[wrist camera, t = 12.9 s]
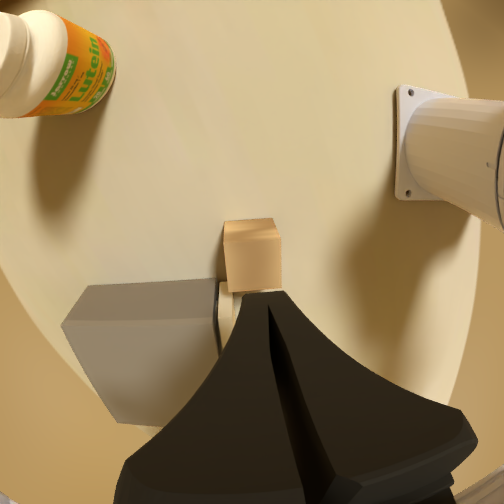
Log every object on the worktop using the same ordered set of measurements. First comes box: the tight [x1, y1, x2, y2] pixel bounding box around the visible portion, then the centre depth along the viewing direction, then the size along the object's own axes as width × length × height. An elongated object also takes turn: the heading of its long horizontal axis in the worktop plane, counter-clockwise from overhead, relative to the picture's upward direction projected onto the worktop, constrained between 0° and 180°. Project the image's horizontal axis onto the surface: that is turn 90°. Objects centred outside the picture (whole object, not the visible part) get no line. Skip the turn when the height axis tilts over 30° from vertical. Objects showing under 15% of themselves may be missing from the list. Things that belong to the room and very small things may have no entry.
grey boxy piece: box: [61, 278, 219, 427], centre depth 20 cm, size 10×11×5 cm
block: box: [223, 218, 281, 292], centre depth 18 cm, size 3×3×4 cm
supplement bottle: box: [0, 10, 116, 118], centre depth 9 cm, size 5×5×10 cm
